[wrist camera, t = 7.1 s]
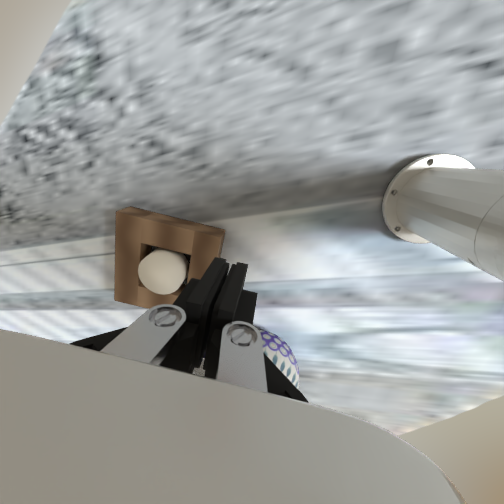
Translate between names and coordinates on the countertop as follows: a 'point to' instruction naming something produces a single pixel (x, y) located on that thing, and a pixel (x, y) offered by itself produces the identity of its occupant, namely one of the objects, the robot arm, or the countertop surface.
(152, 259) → the button
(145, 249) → the housing
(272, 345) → the teapot
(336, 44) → the countertop surface
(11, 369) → the robot arm
